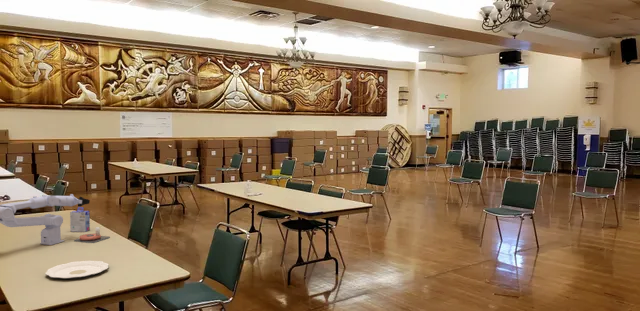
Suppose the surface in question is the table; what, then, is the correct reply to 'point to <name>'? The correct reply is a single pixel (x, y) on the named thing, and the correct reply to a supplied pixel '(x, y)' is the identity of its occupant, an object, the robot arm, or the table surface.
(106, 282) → the table surface
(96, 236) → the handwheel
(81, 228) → the ink cartridge box
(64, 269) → the plate
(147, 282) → the table surface
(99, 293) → the table surface
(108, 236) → the bench plate
